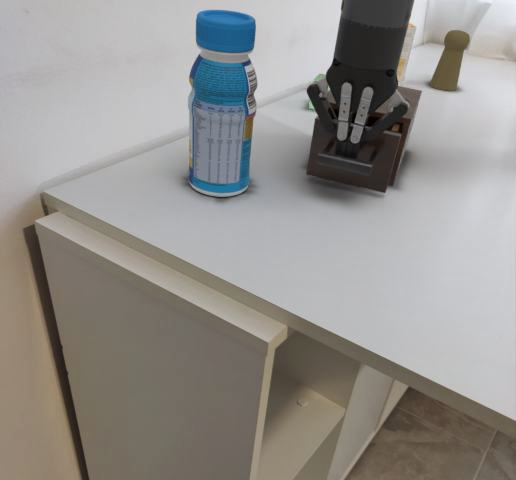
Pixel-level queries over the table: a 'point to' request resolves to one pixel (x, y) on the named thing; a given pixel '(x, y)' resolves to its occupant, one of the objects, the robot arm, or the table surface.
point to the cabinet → (407, 121)
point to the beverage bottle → (222, 103)
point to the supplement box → (405, 53)
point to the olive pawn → (450, 61)
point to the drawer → (358, 170)
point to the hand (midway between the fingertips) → (343, 167)
